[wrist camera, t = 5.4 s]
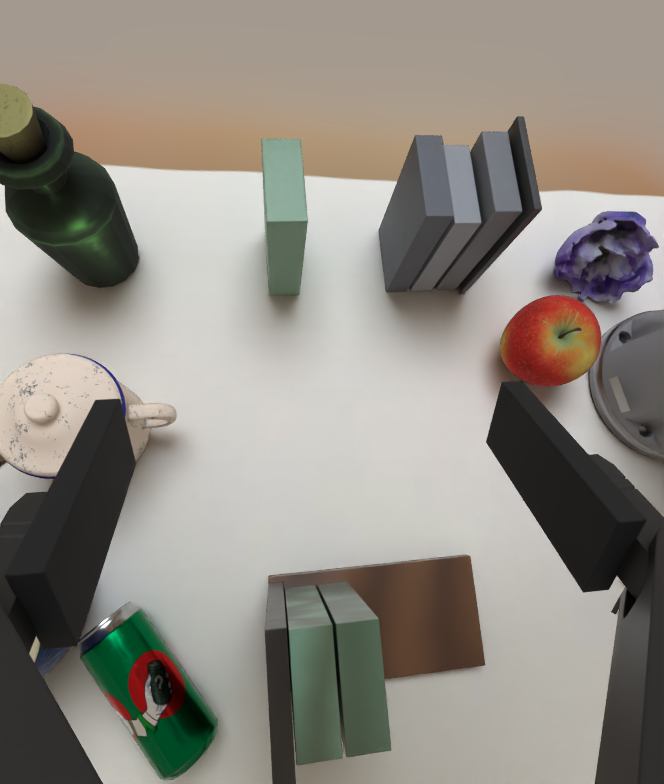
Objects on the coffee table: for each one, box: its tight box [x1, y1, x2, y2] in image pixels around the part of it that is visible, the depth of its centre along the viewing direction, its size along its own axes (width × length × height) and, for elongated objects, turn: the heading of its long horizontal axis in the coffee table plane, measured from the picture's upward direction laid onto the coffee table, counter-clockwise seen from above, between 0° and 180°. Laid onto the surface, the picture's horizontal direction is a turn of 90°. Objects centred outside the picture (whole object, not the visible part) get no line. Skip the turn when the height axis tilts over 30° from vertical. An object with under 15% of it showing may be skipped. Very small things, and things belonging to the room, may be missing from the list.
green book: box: [261, 139, 308, 296], centre depth 42 cm, size 3×7×13 cm, turn 5°
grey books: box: [379, 116, 542, 294], centre depth 42 cm, size 8×8×15 cm
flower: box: [555, 211, 659, 303], centre depth 49 cm, size 9×9×10 cm
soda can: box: [78, 602, 218, 780], centre depth 36 cm, size 5×5×12 cm
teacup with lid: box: [0, 354, 176, 479], centre depth 37 cm, size 12×9×12 cm
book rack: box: [265, 555, 485, 784], centre depth 34 cm, size 18×9×16 cm, turn 95°
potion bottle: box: [0, 84, 139, 288], centre depth 37 cm, size 8×8×18 cm
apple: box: [500, 295, 601, 386], centre depth 44 cm, size 8×8×10 cm
